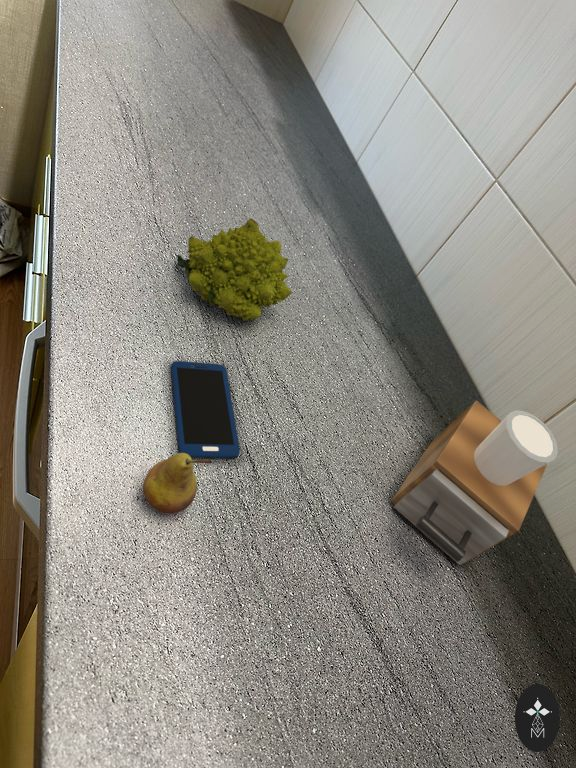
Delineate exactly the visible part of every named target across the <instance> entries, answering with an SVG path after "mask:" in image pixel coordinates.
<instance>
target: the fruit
mask: <svg viewBox="0 0 576 768" xmlns="http://www.w3.org/2000/svg"><path fill="white" fill-rule="evenodd" d="M198 463H199V464H213V461H212V459H211V458H208V459H193V458H191V457H190V455H188V454H186V453H179V452H178V453H175V454H172V455H171V456H170V457H168V458H165V459H162V460H160V461H159V462H156V463H155V464H154V465H153V466H152V467H151V468H150V469H149V471H148V472H147V474H146V475H145V478H144V479H143V480H144V481H143V483H142V494H143V496H144V500H145V501H146V503H147V504H148V505H149V506H150V508H152V509H153V510H154V511H157V512H158V513H161V514H165V515H173V514H178V513H180V512H182V511H185V510H186V509H187V508H189V506H191V504H192V503H193V502H194V500H195V498H196V495H197V491H198V481H197V477H196V475H195V472H194V464H198Z"/></svg>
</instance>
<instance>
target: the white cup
mask: <svg viewBox="0 0 576 768" xmlns="http://www.w3.org/2000/svg"><path fill="white" fill-rule="evenodd" d="M501 421H502V422H501V423H500V424H499V425H498V426H497V427H496V428H495V429H494V430H493V431H492V432H491V433H490V434H489V435H488V436H487V437H486V439H485V440H484V441H483V442H482V443H481V444H480V445H479V446H478V447H477V448H476V450H475V452H474V461H475V464H476V466H477V468H478V470H479V471H480V473H481V474H482V475H483V476H484V477H485V478H486V479H487V480H488V481H489V482H491V483H493V484H496V485H498V486H506V485H508V484H511V483H512V482H514V481H516V480H518V479H520V478H522V477H523V476H525V475H527V474H529V473H531V472H533V471H535V470H536V469H538V468H540V467H542V466H544V465H546V464H547V463H548V464H549V463H551V462H553V461H555V460H556V459H557V456H558V455H559V449H558V442H557V440H556V438H555V436H554V433H553V432H552V431H551V429H550V428H549V427H548V426H547V425H546V423H544V422H543V421H542V420H541V419H540V418H538V417H537V416H536V415H534V414H532V413H530V412H528V411H525V410H519V409H515V410H513V411H511V412H509V413H508V414H507V415H506V416H505V417H504V418H503V420H501ZM548 464H547V465H548Z"/></svg>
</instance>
